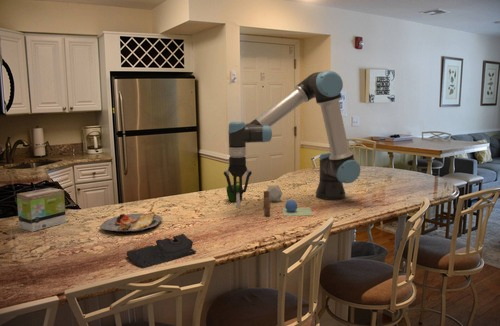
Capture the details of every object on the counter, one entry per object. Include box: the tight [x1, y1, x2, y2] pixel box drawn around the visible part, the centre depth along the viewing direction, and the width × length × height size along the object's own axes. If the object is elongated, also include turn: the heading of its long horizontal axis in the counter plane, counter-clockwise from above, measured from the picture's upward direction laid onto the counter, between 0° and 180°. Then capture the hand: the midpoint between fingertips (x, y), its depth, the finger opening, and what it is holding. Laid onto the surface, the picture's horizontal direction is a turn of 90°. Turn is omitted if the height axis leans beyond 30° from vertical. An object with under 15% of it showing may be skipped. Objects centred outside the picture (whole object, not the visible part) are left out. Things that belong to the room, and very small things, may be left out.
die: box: [266, 184, 283, 203], centre depth 204 cm, size 8×9×10 cm
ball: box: [284, 199, 298, 212], centre depth 184 cm, size 6×6×6 cm
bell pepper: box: [225, 181, 244, 202], centre depth 205 cm, size 8×8×10 cm
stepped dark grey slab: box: [126, 233, 197, 269], centre depth 136 cm, size 15×22×5 cm
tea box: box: [16, 187, 67, 233], centre depth 168 cm, size 15×10×15 cm, turn 148°
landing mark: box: [281, 206, 314, 217], centre depth 184 cm, size 13×13×1 cm
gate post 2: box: [263, 197, 271, 218], centre depth 178 cm, size 3×3×8 cm
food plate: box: [99, 211, 163, 233], centre depth 167 cm, size 25×23×4 cm
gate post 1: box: [263, 190, 269, 199], centre depth 190 cm, size 3×3×8 cm
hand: (238, 207), depth 184 cm, fingers closed
